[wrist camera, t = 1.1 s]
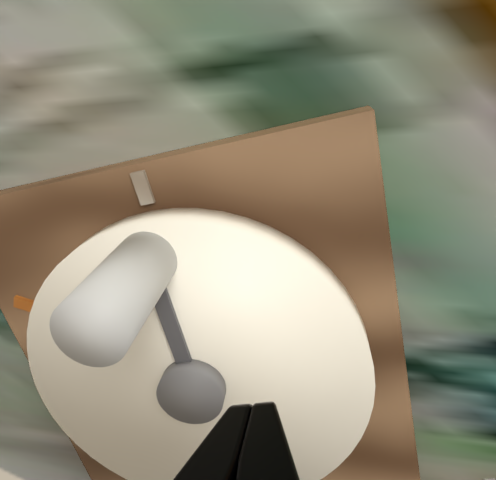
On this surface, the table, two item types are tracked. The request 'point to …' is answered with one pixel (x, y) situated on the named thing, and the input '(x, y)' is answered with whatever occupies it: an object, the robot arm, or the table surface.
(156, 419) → the dial
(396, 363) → the dial base
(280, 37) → the table surface
